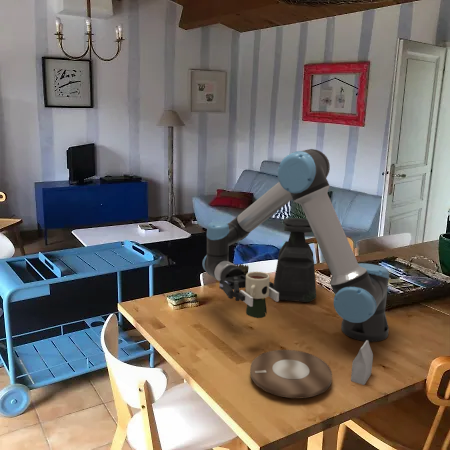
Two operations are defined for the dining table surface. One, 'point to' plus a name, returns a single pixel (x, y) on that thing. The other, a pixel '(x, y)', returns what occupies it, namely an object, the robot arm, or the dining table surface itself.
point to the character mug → (257, 293)
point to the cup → (243, 268)
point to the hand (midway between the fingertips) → (264, 299)
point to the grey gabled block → (362, 364)
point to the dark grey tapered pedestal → (296, 264)
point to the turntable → (291, 373)
